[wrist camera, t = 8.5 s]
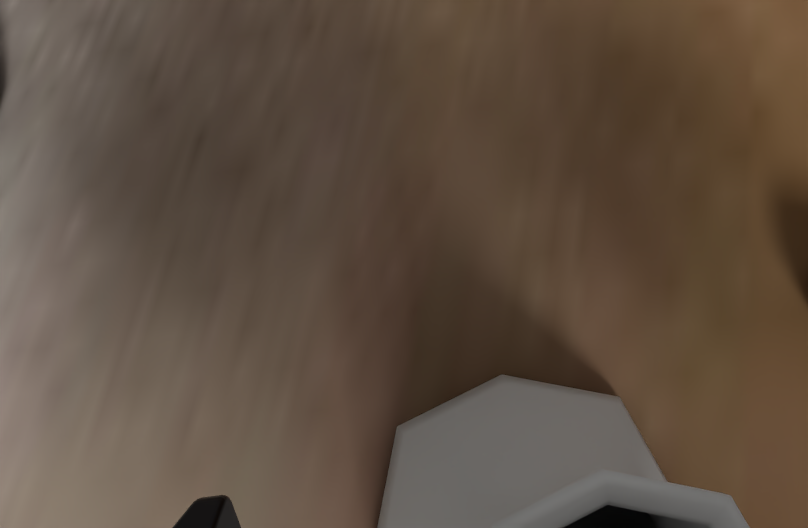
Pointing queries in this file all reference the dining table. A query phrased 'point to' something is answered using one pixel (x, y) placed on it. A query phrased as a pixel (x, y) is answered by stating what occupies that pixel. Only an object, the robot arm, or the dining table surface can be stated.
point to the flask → (536, 466)
